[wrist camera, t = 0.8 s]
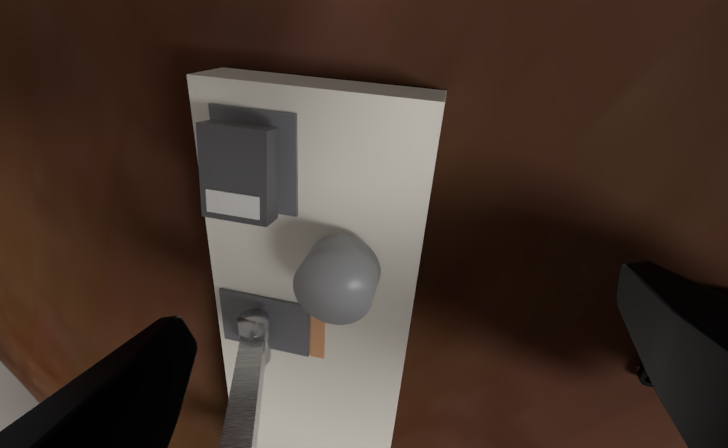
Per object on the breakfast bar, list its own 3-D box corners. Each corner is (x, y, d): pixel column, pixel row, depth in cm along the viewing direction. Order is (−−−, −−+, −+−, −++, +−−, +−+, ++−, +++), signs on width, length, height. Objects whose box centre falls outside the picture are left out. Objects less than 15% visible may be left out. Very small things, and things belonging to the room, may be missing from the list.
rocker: (278, 127, 16) (265, 131, 15) (277, 217, 18) (265, 228, 17) (212, 119, 17) (194, 122, 16) (216, 207, 18) (200, 216, 17)
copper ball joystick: (279, 307, 22) (259, 567, 12) (280, 345, 23) (264, 610, 13) (229, 309, 21) (163, 580, 11) (234, 348, 23) (178, 622, 12)
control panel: (446, 90, 18) (444, 103, 15) (385, 480, 32) (378, 524, 29) (222, 67, 20) (183, 74, 17) (256, 447, 34) (238, 485, 31)
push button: (383, 241, 18) (375, 264, 16) (377, 304, 20) (369, 331, 18) (308, 228, 19) (292, 249, 17) (307, 291, 20) (293, 316, 19)
